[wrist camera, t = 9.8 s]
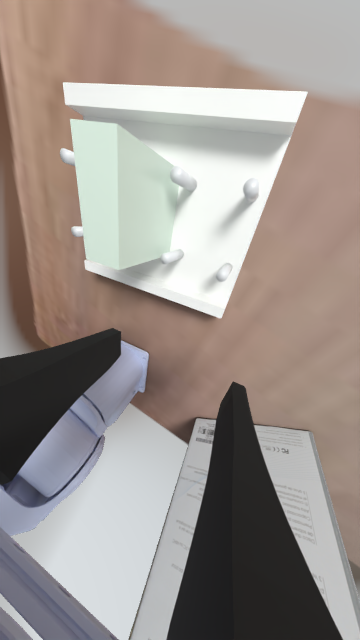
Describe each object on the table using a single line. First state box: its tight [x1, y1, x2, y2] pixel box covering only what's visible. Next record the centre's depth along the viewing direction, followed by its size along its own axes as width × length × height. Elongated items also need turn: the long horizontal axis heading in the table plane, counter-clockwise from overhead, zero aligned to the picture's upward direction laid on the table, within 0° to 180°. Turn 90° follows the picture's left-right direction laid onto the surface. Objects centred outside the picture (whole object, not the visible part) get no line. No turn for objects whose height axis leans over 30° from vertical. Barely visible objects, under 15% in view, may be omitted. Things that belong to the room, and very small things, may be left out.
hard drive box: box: [129, 418, 360, 640], centre depth 17 cm, size 16×8×20 cm, turn 113°
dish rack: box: [60, 82, 308, 318], centre depth 14 cm, size 13×16×4 cm
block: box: [70, 119, 179, 270], centre depth 11 cm, size 6×2×7 cm, turn 168°
